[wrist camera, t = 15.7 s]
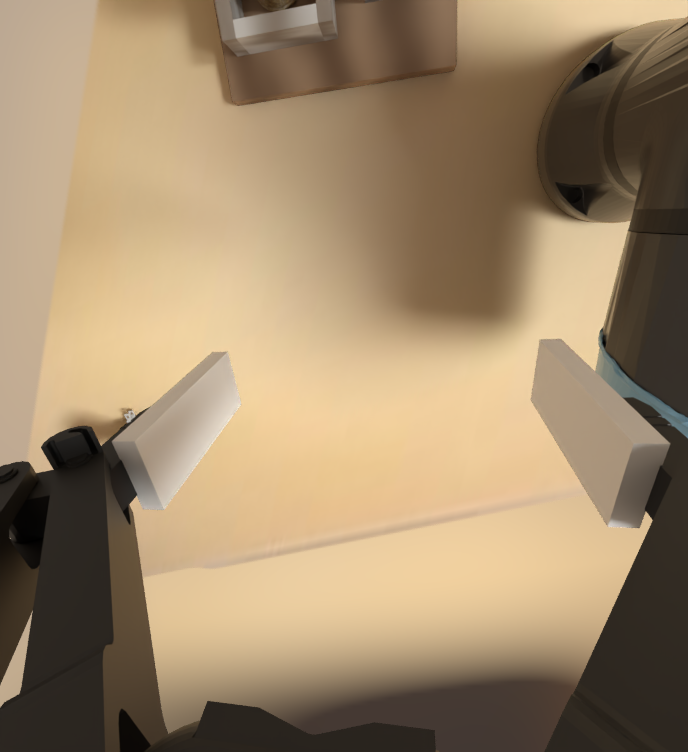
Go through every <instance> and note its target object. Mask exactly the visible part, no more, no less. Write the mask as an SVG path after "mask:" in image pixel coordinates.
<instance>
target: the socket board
mask: <svg viewBox="0 0 688 752" xmlns="http://www.w3.org/2000/svg"><path fill="white" fill-rule="evenodd" d="M214 5H215V10H216V16H217V21H218V26H219V32H220V37H221V43H222V48H223V53H224V59H225V64H226V69H227V75H228V80H229V86H230V91H231V96H232V102H234V103H235V104H236V105H238V106H240V105H246V104H252V103H258V102H264V101H270V100H277V99H283V98H289V97H295V96H301V95H307V94H314V93H320V92H326V91H332V90H338V89H345V88H351V87H357V86H363V85H369V84H375V83H382V82H388V81H394V80H400V79H406V78H412V77H419V76H425V75H431V74H437V73H443V72H449V71H454V69H455V67H456V50H457V0H296V1H295V2H294V4H293V5H291V7H290V8H289V9H285V10H280V11H275V12H271V11H269V10H267V9H265V8H264V7H263V6H262V5H261V4H260V3H259V1H258V0H214Z"/></svg>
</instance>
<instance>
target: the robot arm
mask: <svg viewBox="0 0 688 752" xmlns="http://www.w3.org/2000/svg"><path fill="white" fill-rule="evenodd" d="M537 161H538V170H539V175H540V178H541V181H542V184H543V187H544V189H545V191H546V193H547V194H548V196H549V197H550V199H551V200H552V201H553V202H554V203H555V204H556V206H557V207H559V208H560V209H561V210H562V211H564V212H565V213H567V214H569V215H570V216H573V217H575V218H577V219H580V220H584V221H589V222H600V223H619V222H626V221H630V220H631V222H630V226H629V229H628V233H627V237H626V241H625V244H624V248H623V252H622V256H621V260H620V264H619V268H618V272H617V276H616V280H615V284H614V288H613V291H612V295H611V299H610V303H609V307H608V311H607V315H606V319H605V323H604V327H603V328H602V329H601V330H600V333H599V338H598V341H599V347H600V349H599V354H598V360H597V365H596V371H594V370H593V369H592V368H591V367H590V366H589V365H588V364H587V363H586V362H584V361H583V360H582V359H581V358H580V357H579V356H578V355H577V354H576V353H575V352H574V351H573V350H572V349H571V348H570V347H569V346H568V345H567V344H566V343H565V342H564V341H563V340H561V339H544V340H540V341H539V348H538V355H537V361H536V368H535V375H534V382H533V388H532V395H531V401H532V403H533V405H534V406H535V408H536V410H537V411H538V413H539V414H540V416H541V418H542V419H543V421H544V423H545V424H546V426H547V428H548V429H549V431H550V433H551V434H552V436H553V438H554V439H555V441H556V443H557V444H558V446H559V447H560V449H561V451H562V452H563V454H564V456H565V457H566V459H567V461H568V462H569V464H570V466H571V467H572V469H573V471H574V472H575V474H576V475H577V477H578V479H579V480H580V482H581V484H582V485H583V487H584V489H585V490H586V492H587V494H588V495H589V497H590V498H591V500H592V502H593V504H594V505H595V507H596V508H597V510H598V512H599V513H600V515H601V517H602V518H603V520H604V522H605V523H606V525H607V526H608V527H627V528H640V525H641V523H642V520H643V517H644V515H645V512H647V513H648V514H649V516H650V517H651V518H652V520H653V521H652V523H651V526H650V528H649V530H648V532H647V534H646V537H645V539H644V541H643V543H642V545H641V548H640V550H639V552H638V554H637V556H636V559H635V561H634V563H633V565H632V567H631V569H630V572H629V574H628V576H627V578H626V580H625V583H624V585H623V587H622V589H621V591H620V593H619V596H618V598H617V600H616V602H615V604H614V607H613V609H612V611H611V613H610V615H609V617H608V620H607V622H606V624H605V626H604V628H603V631H602V633H601V635H600V637H599V639H598V642H597V644H596V646H595V648H594V650H593V652H592V655H591V657H590V659H589V661H588V663H587V666H586V668H585V670H584V672H583V674H582V677H581V679H580V681H579V683H578V685H577V687H576V689H575V691H574V693H573V694H572V695H571V697H570V699H569V701H568V703H567V705H566V707H565V709H564V711H563V713H562V715H561V717H560V719H559V722H558V724H557V726H556V728H555V730H554V732H553V735H552V737H551V739H550V741H549V743H548V745H547V748H546V750H545V752H688V17H686V18H681V19H670V20H661V21H655V22H650V23H647V24H643V25H640V26H638V27H635V28H632V29H630V30H628V31H626V32H624V33H622V34H620V35H618V36H616V37H615V38H613V39H611V40H610V41H608V42H607V43H606V44H604V45H603V46H601V47H600V48H599V49H597V50H596V51H595V52H593V53H592V54H591V55H590V56H588V57H587V58H586V59H585V60H584V61H582V62H581V63H580V64H579V65H578V66H577V67H576V68H575V69H574V70H573V71H572V73H571V74H570V75H569V76H568V77H567V78H566V80H565V81H564V82H563V84H562V85H561V86H560V88H559V89H558V91H557V93H556V94H555V96H554V98H553V99H552V101H551V103H550V105H549V107H548V110H547V112H546V114H545V117H544V120H543V123H542V126H541V130H540V134H539V139H538V149H537ZM240 405H241V401H240V397H239V393H238V389H237V385H236V381H235V377H234V374H233V370H232V366H231V362H230V358H229V354H228V352H212V353H211V354H210V355H209V356H208V357H206V358H205V359H204V360H203V361H202V362H201V363H200V364H198V365H197V366H196V367H195V368H194V369H193V370H192V371H191V372H189V373H188V374H187V375H186V376H185V377H184V378H183V379H182V380H180V381H179V382H178V383H177V384H176V385H175V386H174V387H172V388H171V389H170V390H169V391H168V392H167V393H166V394H165V395H163V396H162V397H161V398H160V399H159V400H158V401H157V402H155V403H154V404H153V405H152V406H151V407H149V408H147V409H145V410H143V411H142V412H140V413H139V414H138V415H136V416H135V417H134V418H133V419H132V420H131V422H128V423H127V424H126V425H125V426H124V427H123V429H120V430H119V431H118V432H117V433H116V434H115V435H113V436H112V437H111V438H110V439H109V440H108V441H107V442H105V443H104V444H103V445H102V446H101V445H100V443H99V441H98V439H97V437H96V435H95V433H94V431H93V429H92V428H91V427H88V426H78V427H74V428H70V429H67V430H65V431H62V432H59V433H58V434H56V435H54V436H52V437H50V438H49V439H48V440H47V441H45V442H44V443H43V445H42V447H41V448H42V450H43V452H44V454H45V455H46V457H47V459H48V461H49V462H50V464H51V466H52V468H53V469H54V470H51V471H46V472H41V473H35V471H34V469H33V468H32V466H31V465H30V463H29V462H23V461H22V462H15V463H11V464H8V465H3V466H1V467H0V684H1V682H2V679H3V677H4V675H5V673H6V670H7V668H8V666H9V663H10V661H11V659H12V656H13V654H14V652H15V650H16V647H17V645H18V643H19V640H20V638H21V636H22V633H23V631H24V629H25V627H26V624H27V622H28V619H29V617H30V615H31V612H32V610H33V613H32V620H31V628H30V634H29V641H28V647H27V654H26V660H25V667H24V674H23V681H22V687H21V691H20V694H19V695H17V696H15V697H13V698H11V699H10V700H8V701H6V702H4V704H3V705H2V706H1V708H0V752H439V751H437V750H436V748H435V731H434V730H428V729H421V728H413V727H405V726H397V725H390V724H382V723H370V724H366V725H361V726H356V727H351V728H347V729H341V730H337V731H332V732H327V733H322V734H317V735H312V734H308V733H306V732H303V731H302V730H300V729H298V728H296V727H294V726H293V725H290V724H289V723H287V722H285V721H283V720H281V719H279V718H277V717H276V716H274V715H272V714H270V713H268V712H266V711H264V710H262V709H260V708H258V707H250V706H243V705H235V704H227V703H219V702H211V701H207V704H206V707H205V709H204V712H203V715H202V717H201V720H200V721H197V722H194V723H191V724H189V725H186V726H183V727H181V728H179V729H177V730H175V731H173V732H171V733H169V734H168V732H167V729H166V726H165V723H164V719H163V715H162V710H161V703H160V696H159V689H158V682H157V675H156V669H155V661H154V655H153V648H152V641H151V634H150V627H149V620H148V613H147V607H146V600H145V592H144V586H143V578H142V571H141V564H140V557H139V550H138V543H137V537H136V530H135V523H134V516H133V512H132V509H131V507H130V505H129V504H130V503H131V502H132V501H133V499H134V498H135V497H136V496H137V497H138V499H139V502H140V504H141V506H142V508H143V509H151V510H164V509H165V508H166V507H167V505H168V504H169V503H170V501H171V500H172V498H173V497H174V496H175V494H176V493H177V492H178V490H179V489H180V487H181V486H182V485H183V483H184V482H185V481H186V479H187V478H188V476H189V475H190V474H191V472H192V471H193V470H194V468H195V467H196V466H197V464H198V463H199V461H200V460H201V459H202V457H203V456H204V455H205V453H206V452H207V450H208V449H209V448H210V446H211V445H212V444H213V442H214V441H215V440H216V438H217V437H218V435H219V434H220V433H221V431H222V430H223V429H224V427H225V426H226V424H227V423H228V422H229V420H230V419H231V418H232V416H233V415H234V413H235V412H236V411H237V409H238V408H239V407H240ZM10 538H11V539H10Z"/></svg>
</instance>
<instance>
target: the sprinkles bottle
mask: <svg viewBox="0 0 688 752" xmlns="http://www.w3.org/2000/svg"><path fill="white" fill-rule="evenodd" d="M258 1H259V3H260V4H261V5H262V6H263V7H264V8H265V9H267V10H269V11H271V12H275V11H280V10H285V9H289V8H290V7H291V5H293V4H294V2H295V1H296V0H258Z"/></svg>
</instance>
